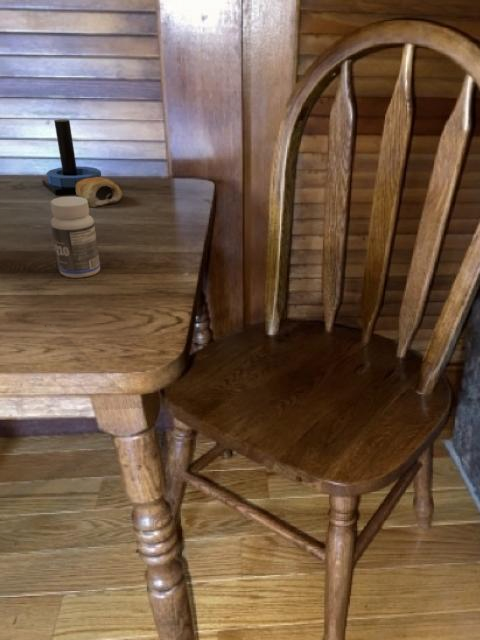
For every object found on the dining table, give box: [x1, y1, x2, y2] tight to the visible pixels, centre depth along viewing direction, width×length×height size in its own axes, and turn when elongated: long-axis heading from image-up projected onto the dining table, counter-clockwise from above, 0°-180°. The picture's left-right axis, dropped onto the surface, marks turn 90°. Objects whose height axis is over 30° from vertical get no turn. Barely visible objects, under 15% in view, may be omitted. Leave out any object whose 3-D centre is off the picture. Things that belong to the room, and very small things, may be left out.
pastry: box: [75, 176, 123, 208], centre depth 94 cm, size 9×7×4 cm
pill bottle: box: [50, 195, 101, 279], centre depth 66 cm, size 5×5×8 cm
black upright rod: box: [41, 118, 78, 196], centre depth 98 cm, size 8×8×11 cm
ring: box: [46, 165, 102, 187], centre depth 100 cm, size 9×9×2 cm
